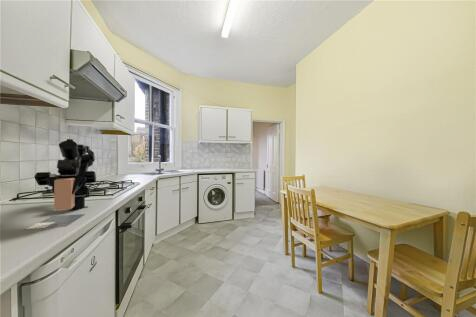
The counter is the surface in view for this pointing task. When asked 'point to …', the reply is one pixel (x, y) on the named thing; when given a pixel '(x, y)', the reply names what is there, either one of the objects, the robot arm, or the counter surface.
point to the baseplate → (56, 221)
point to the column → (64, 194)
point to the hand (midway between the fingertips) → (63, 194)
